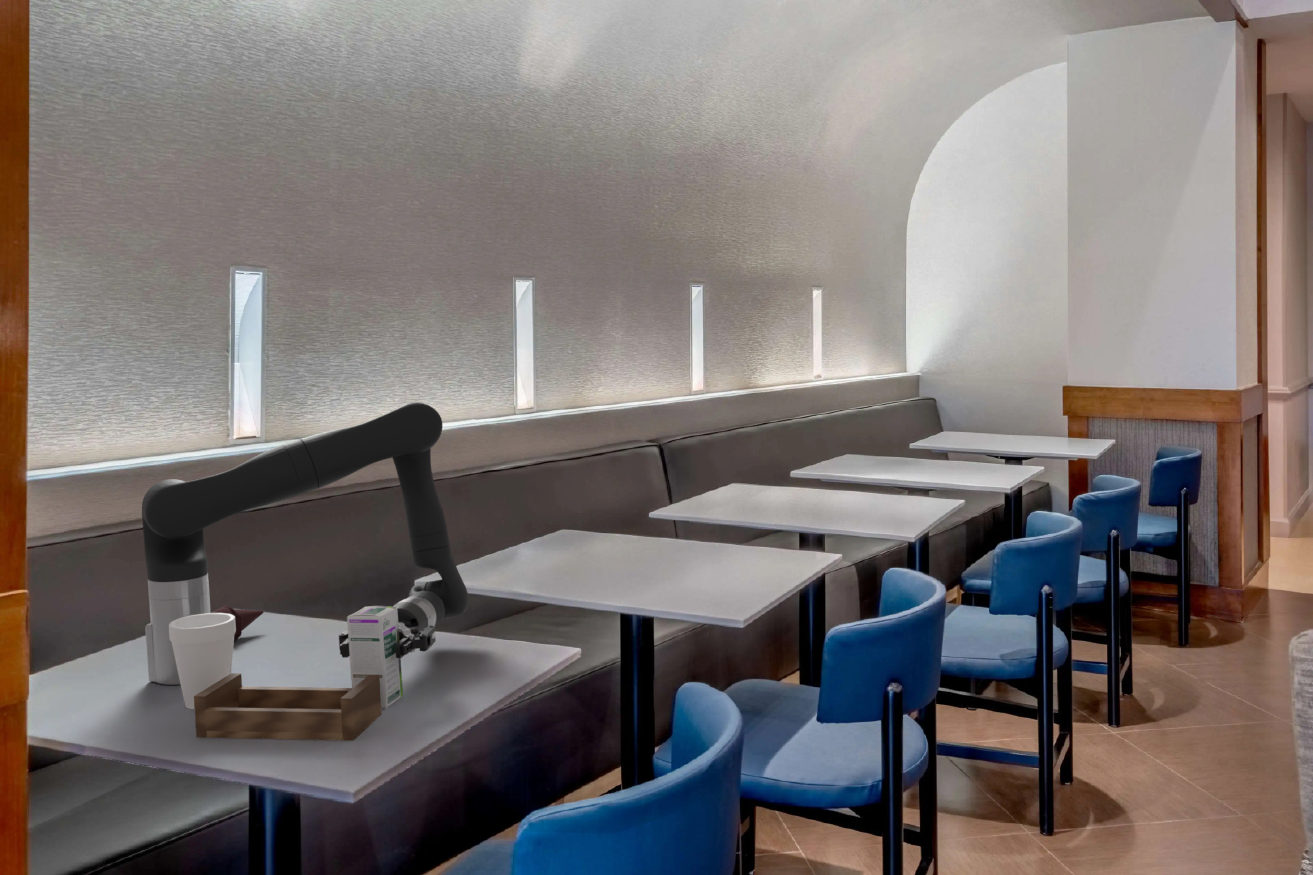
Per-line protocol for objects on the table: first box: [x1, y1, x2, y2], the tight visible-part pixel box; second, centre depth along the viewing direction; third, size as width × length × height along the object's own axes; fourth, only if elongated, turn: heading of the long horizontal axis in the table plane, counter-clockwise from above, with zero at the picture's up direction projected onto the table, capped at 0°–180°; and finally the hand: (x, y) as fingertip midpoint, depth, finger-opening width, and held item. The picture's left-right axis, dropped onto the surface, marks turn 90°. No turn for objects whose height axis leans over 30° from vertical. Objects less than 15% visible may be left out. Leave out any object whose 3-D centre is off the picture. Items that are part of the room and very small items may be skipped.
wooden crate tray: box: [194, 672, 382, 742], centre depth 154 cm, size 23×10×6 cm, turn 83°
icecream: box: [212, 604, 264, 641], centre depth 201 cm, size 7×7×15 cm
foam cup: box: [169, 612, 236, 710], centre depth 165 cm, size 10×9×13 cm
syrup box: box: [346, 605, 404, 710], centre depth 163 cm, size 6×6×14 cm
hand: (370, 651), depth 162 cm, fingers open, 8 cm apart
